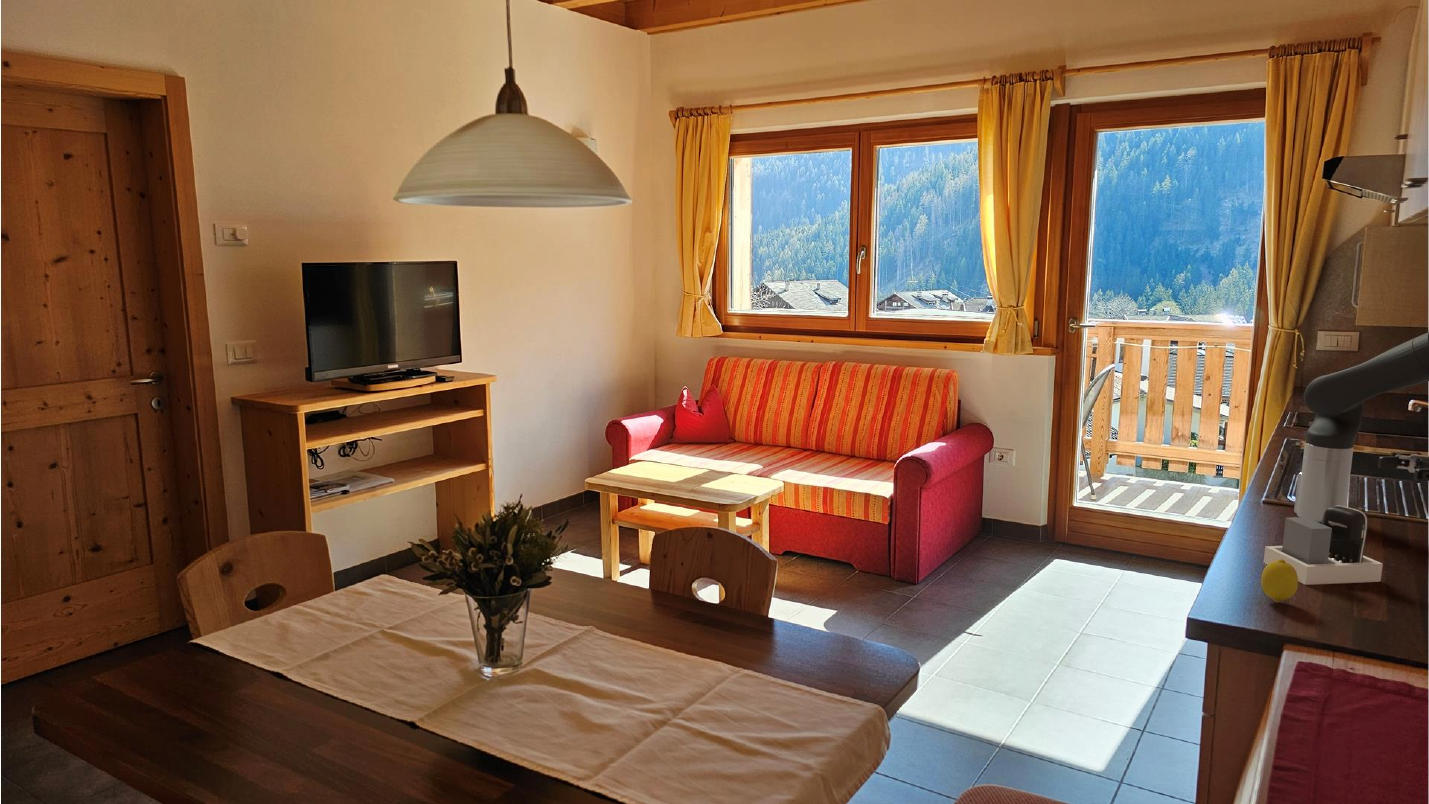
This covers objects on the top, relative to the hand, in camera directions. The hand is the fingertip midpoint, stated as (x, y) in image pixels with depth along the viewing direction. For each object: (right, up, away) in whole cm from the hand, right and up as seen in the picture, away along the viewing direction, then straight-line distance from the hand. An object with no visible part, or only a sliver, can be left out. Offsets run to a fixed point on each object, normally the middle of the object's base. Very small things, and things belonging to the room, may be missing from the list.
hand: (1397, 468), depth 179 cm
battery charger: (-10, -19, +2) cm, 22 cm away
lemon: (-30, -23, -13) cm, 40 cm away
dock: (-13, -20, +2) cm, 24 cm away
